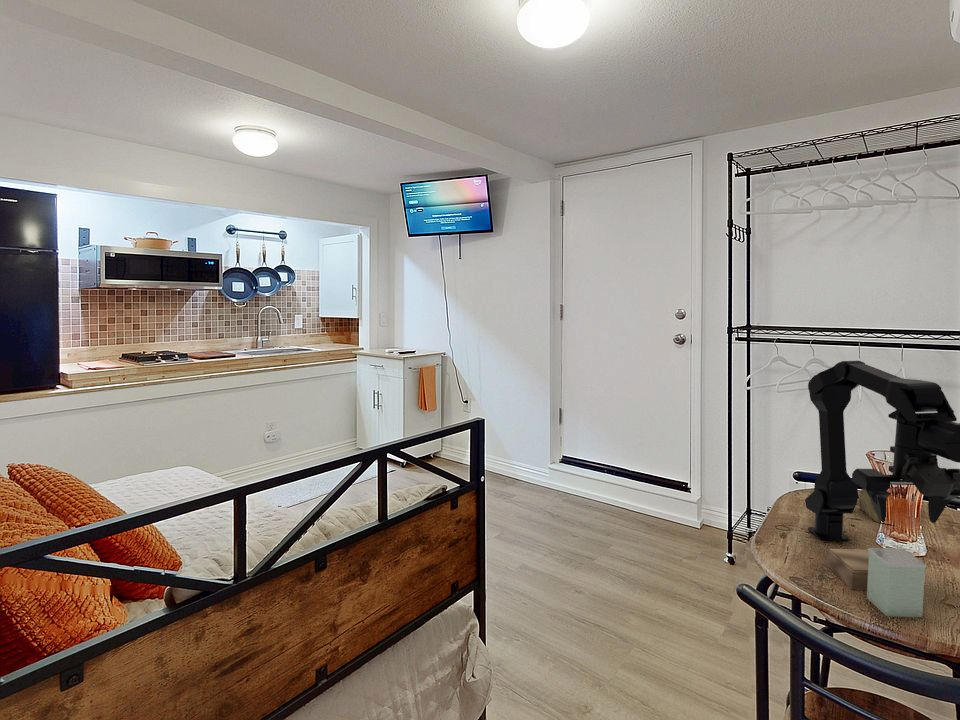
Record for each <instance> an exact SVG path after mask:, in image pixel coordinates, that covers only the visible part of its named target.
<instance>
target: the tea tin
mask: <svg viewBox="0 0 960 720" xmlns="http://www.w3.org/2000/svg"><path fill="white" fill-rule="evenodd" d="M867 550H868V551H869V563H868V583H867V590H866V599H867V600H868V601H869V602H870V603H872V604H873V605H874V606H875V607H876V608H877V609H878V610H879V611H880V612H881V613H882V614H883V615H885V617H895V618H899V617H900V618H923V611H924V595H925V594H924V590H925V581H926V580H925V576H926V569H927V564H926V563H925V562H924V561H923V560H921V559H919V558H917V557H916V556H915V555H913V554H912V553H910V552H909V551H908V550H906V549H905V548H899V547H897V548H892V547H891V548H890V547H889V548H888V547H868V549H867Z"/></svg>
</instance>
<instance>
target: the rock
mask: <svg viewBox="0 0 960 720" xmlns="http://www.w3.org/2000/svg"><path fill="white" fill-rule="evenodd" d="M858 504H859V509H861V510H862V511H863V512H864V513H865V514H866V515H868V517H869V518H871V519H872V520H873V521H874V522H876V523H879V524H881V523H880V522H881V520H879V517H878V515H877V513H876V510H875V508H874V506H873V503H872V501H871V499H870V497H869V495H868V493H867V492H866V490H865V489H863V488H862V489H861V490H860V493H859V500H858Z"/></svg>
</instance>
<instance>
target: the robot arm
mask: <svg viewBox="0 0 960 720" xmlns="http://www.w3.org/2000/svg"><path fill="white" fill-rule="evenodd" d="M859 386H860V387H862V388H865V389H867V390H870V391H873V392H874V393H876V394H879V395H881V396H883V397H884V399H885V401H886V403H887V404H888V405H889V406H891V407H892V408H894V411H892V412H891V413H888V415H887V416H888V418H890V419H893V420H896V424H895V438H894V446H893V445H892V446H889V451H890V452H891V453H893V460H892V461H893V464H892V465H888V471H889V472H890V473H892V474H884V473H882V472H881V471H879V470H877V469H875V468H855V470H853V471H852V474H851V476H850V474H848V472H847V471H848V470H847V457H846V455H847V454H846V438H845V437H846V436H845V417H844V416H845V415H844V413H845V410H846V408H847V407H848V405H849V403H850V402H851V400H852V391H853V390H855V389H856V388H857V387H859ZM807 388H808V393H809V400H810V402H811V403H812V404H813V405H814V407H815V408H816V410H817V411H818V420H819V421H818V422H819V423H818V424H819V442H820V444H819V445H820V460H821V461H820V462H821V464H820V465H821V471H820V473H819V474H818V476H817V477H816V478H815V480H814V489H813V492H812V493H810V494H809V495H808V496H807V497H805V500H804V501H805V507H806V509H808V510H809V511H811V512H812V513H814V526H808V527H807V529H808V531H810V532H811V533H812V534H813V535H815V537H817V538H818V539H819V540H820V541H843V542H844V541H850V538H849V537H848V536H847V535H845V534H844V533H843V532H844V530H843V529H844V514H845V515H846V514H851V515H852V514H853V513H854V510H855V508H856V506H857V504H858V501H859V500H858V499H859V498H860V497H859V496H860V494H859V492H858V490H859V487H860V488H862V489H865V490H866V492H867V493H868V495H869V497H870V499H871V501H872V503H873V506H874V508H875V510H876V513H877V515H878V517H879V520H881V521H882V522H884V521H885V517H886V501H887V499H888V498H889V497H890V495H891V494H892V493H891V492H890V491H888V490H889V489H890V488H891V486H892V485H893V486H895V485H898V486H899V485H900V486H901V485H902V486H903V485H904V486H905V485H907V486H914V487H915V488H916V489H917V490H918V492H919V493H920V494H921V495H923V496H925V497H927V501H928V511H927V512H928V519H929V521H930V522H931V523H933V524H935V523H936V522H937V521H938V519H939V518H940V516H941V515H942V514H943V512H944V510H945V508H946V507H947V505H949V503H950V502H951V501H952V500H954V499H956V498H959V497H960V468H947V467H939V464H938V457H940V458H943V459H946V460H949V461H952V462H955V463H960V422H957V419H958V418H957V417H956V414H955V410H953V408H952V407H951V405H950V402H949V400H948V399H947V397H946V395H945V393H944V391H943V390H942V387H941V386H940V384H938V383H937V382H933V381H927V380H921V379H912V378H902V377H899V376H897V375H894V374H891V373H889V372H887V371H884V370H881V369H879V368H877V367H874V366H871V365H869V364H866V363H865V362H864V361H861V360H841V361H840V362H837V363H836V364H834V365H833V366H832V367H829V368H827V369H825V370H823V371H820V372H818V373H817V374H815V375H813V376H812V377H811V379H809V381H808V383H807ZM858 486H859V487H858ZM887 502H888V501H887Z"/></svg>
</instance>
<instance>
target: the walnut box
mask: <svg viewBox="0 0 960 720" xmlns="http://www.w3.org/2000/svg"><path fill="white" fill-rule="evenodd" d="M825 554H826V555H825V566H827V568H828V569H830V570H831V571H832V573H834V574H835V575H836V574H837V575H838V576H839V577H840V578H841V579H842V580H843V581H844V582H843V581H842V580H841V579H840V578H839V577H838V576H837V575H836V576H837V577H838V578H839V579H840V580H841V581H842V582H843V583H844V584H846V585H847V586H848V587H849V588H850V590H852V589H856V590H857V591H861V590H862V591H867V583H868V563H869V551H868V549H865V548H864V549H863V548H859V549H856V548H826V553H825ZM856 590H855V591H856Z"/></svg>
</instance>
